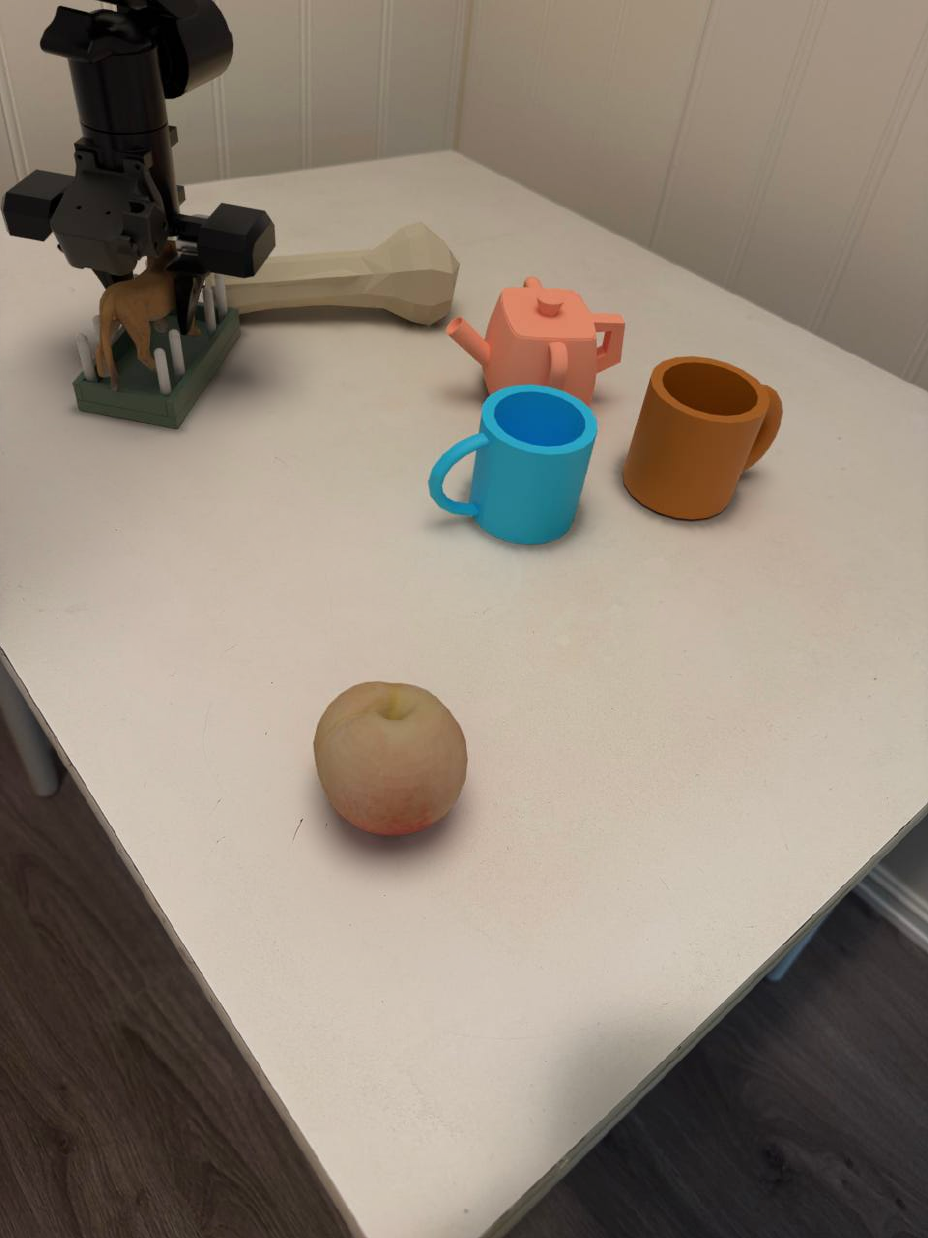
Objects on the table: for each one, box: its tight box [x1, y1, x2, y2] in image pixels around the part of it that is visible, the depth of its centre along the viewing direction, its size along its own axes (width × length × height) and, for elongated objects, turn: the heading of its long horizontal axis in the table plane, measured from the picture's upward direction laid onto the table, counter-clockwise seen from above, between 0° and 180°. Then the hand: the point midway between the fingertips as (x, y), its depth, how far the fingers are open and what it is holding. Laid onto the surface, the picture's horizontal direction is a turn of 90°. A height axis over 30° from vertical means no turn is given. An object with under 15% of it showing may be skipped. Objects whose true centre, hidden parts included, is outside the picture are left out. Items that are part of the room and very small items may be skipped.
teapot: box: [445, 275, 626, 408], centre depth 73 cm, size 12×12×10 cm
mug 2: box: [621, 355, 784, 520], centre depth 68 cm, size 9×12×9 cm
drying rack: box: [72, 259, 241, 429], centre depth 72 cm, size 8×15×6 cm, turn 171°
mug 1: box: [427, 385, 598, 546], centre depth 63 cm, size 12×8×8 cm
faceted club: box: [202, 220, 461, 327], centre depth 80 cm, size 9×8×25 cm
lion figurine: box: [94, 240, 201, 390], centre depth 68 cm, size 15×5×9 cm, turn 171°
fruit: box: [312, 680, 469, 836], centre depth 46 cm, size 8×8×8 cm
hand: (158, 327), depth 71 cm, fingers closed on lion figurine, 4 cm apart
